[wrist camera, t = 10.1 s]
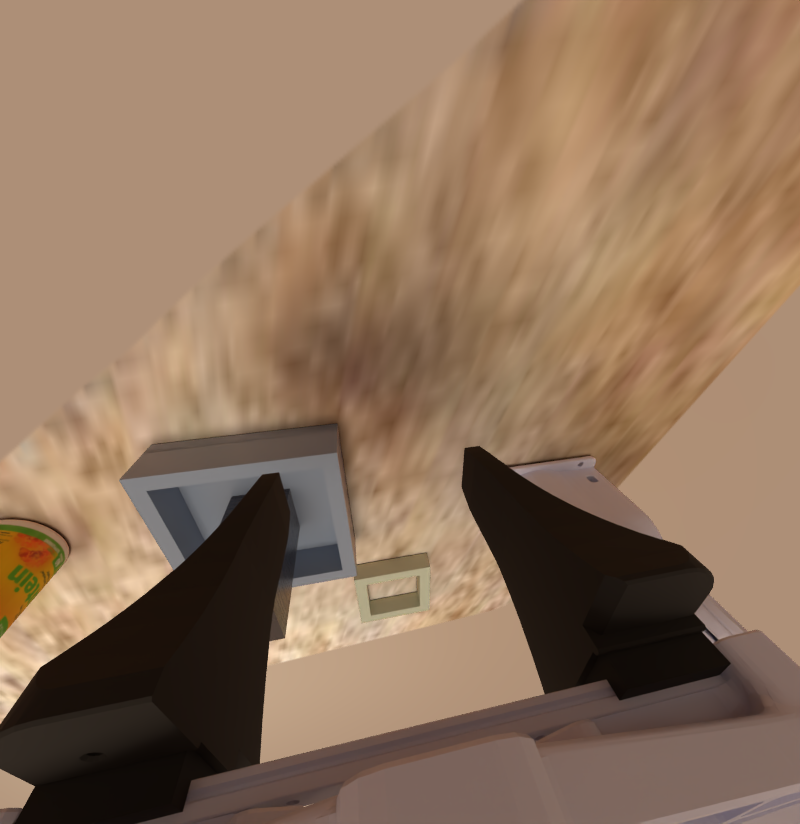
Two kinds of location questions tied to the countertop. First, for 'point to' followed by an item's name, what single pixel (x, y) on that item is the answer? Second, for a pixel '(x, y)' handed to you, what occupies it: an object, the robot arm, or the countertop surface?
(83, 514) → the countertop surface
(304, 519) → the tray
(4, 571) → the supplement bottle
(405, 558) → the holder
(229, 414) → the countertop surface
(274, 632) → the dark wooden post
